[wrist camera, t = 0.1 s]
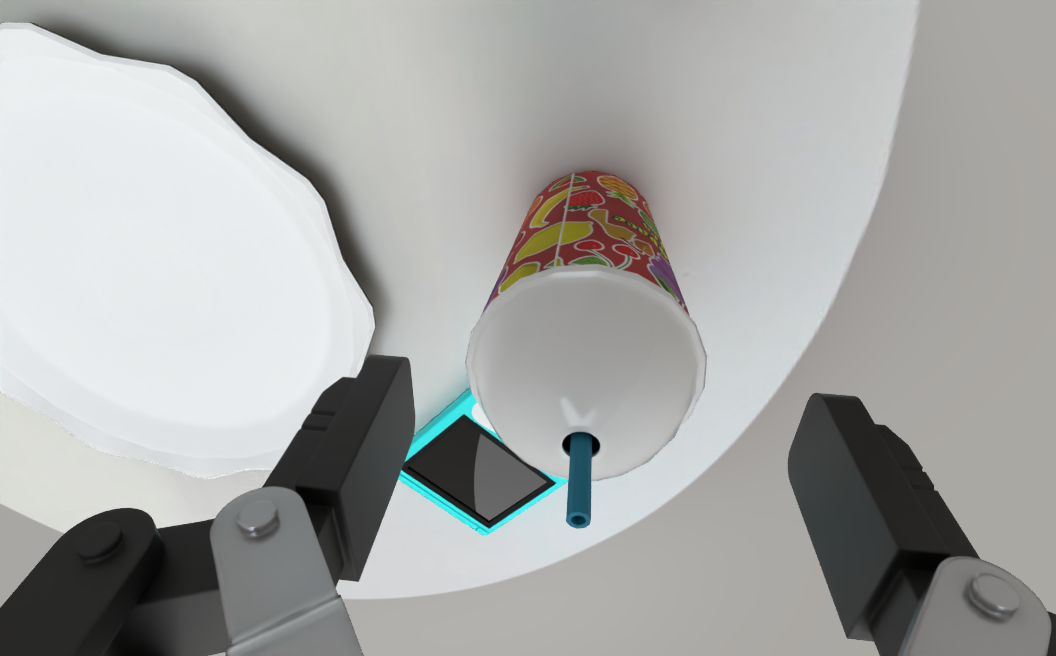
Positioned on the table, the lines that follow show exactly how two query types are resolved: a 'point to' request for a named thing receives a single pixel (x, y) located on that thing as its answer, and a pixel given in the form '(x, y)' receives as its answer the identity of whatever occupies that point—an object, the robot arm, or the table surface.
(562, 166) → the table surface
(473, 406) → the handheld game console
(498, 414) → the smoothie
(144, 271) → the plate
